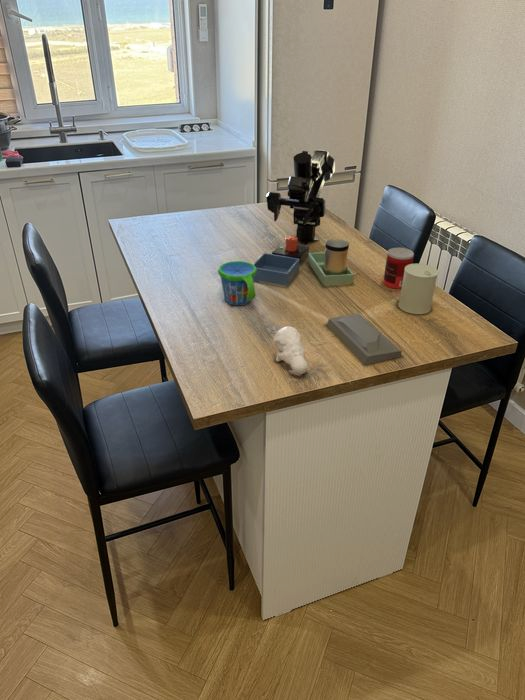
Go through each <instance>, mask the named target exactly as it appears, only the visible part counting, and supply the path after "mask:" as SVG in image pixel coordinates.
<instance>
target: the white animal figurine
mask: <svg viewBox="0 0 525 700" xmlns="http://www.w3.org/2000/svg"><path fill="white" fill-rule="evenodd" d="M273 345H274V347H275V348H276V357H275V361H276V362H278V363H279V362H281V361H284V362H285V363H286V364H288V365H289V366H290V368H291V370H288V372H290V373H291V374H293V375H296V376H298V377H302V375H304V374H305V373H306V372H307V371H308V368H309V366H308V362H307V360H306V359H305V356H306V350H305V348H304V347H303V344H302V336H301V334H300V333H299V331H298V330H297V329H296V328H295V327H293V326H287V325H286V326H285V327H282V328H280V329H278V330H277V331H276V333H275V335H274V336H273Z"/></svg>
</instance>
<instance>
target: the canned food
mask: <svg viewBox="0 0 525 700" xmlns="http://www.w3.org/2000/svg"><path fill="white" fill-rule="evenodd" d="M414 257H415V253H414V251H413V250H411V249H409V248H406V247H392V248H389V249H388V250H387V255H386V262H385V265H384V266H385V267H384V274H383V281H382V283H383V286H384V287H386V288H388V289H391V290H396V291H397V290H398V291H401V289H402V283H403V277H404V271H405V267H406V266H407V265H409V264H414Z"/></svg>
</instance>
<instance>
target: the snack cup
mask: <svg viewBox="0 0 525 700" xmlns="http://www.w3.org/2000/svg"><path fill="white" fill-rule="evenodd" d="M253 264H254V263H251V262H248V261H243V260H234V261H228V262H225V263H222V264H221V265H220V266H219V267H218V270H217V273H218V275H219V277H220V281H221V287H222V292H223V296H224V301H225V302H226V303H227V304H229V305H231V306H245V305H247V304H248V303H249V302H251V301H253V300H254V299H255V298H256V297H257V296H256V294H257V293H256V290H255V289H256V288H255V282H254V277H255V275H256V273H257V269H256V267H255V266H254V265H253Z"/></svg>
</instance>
